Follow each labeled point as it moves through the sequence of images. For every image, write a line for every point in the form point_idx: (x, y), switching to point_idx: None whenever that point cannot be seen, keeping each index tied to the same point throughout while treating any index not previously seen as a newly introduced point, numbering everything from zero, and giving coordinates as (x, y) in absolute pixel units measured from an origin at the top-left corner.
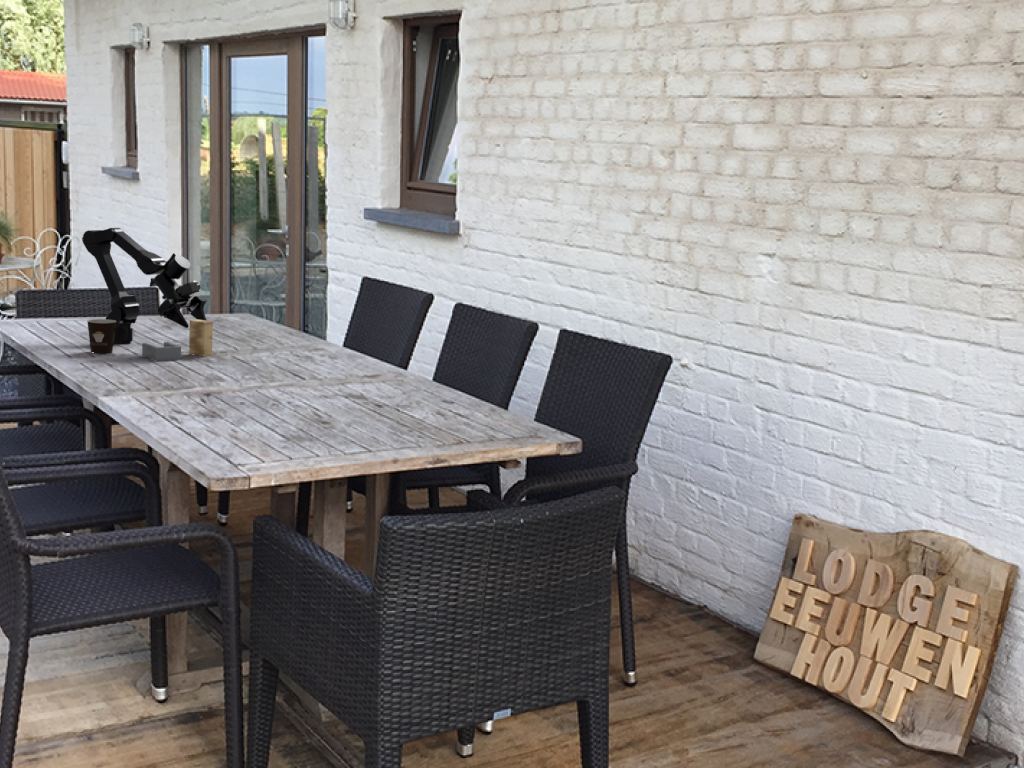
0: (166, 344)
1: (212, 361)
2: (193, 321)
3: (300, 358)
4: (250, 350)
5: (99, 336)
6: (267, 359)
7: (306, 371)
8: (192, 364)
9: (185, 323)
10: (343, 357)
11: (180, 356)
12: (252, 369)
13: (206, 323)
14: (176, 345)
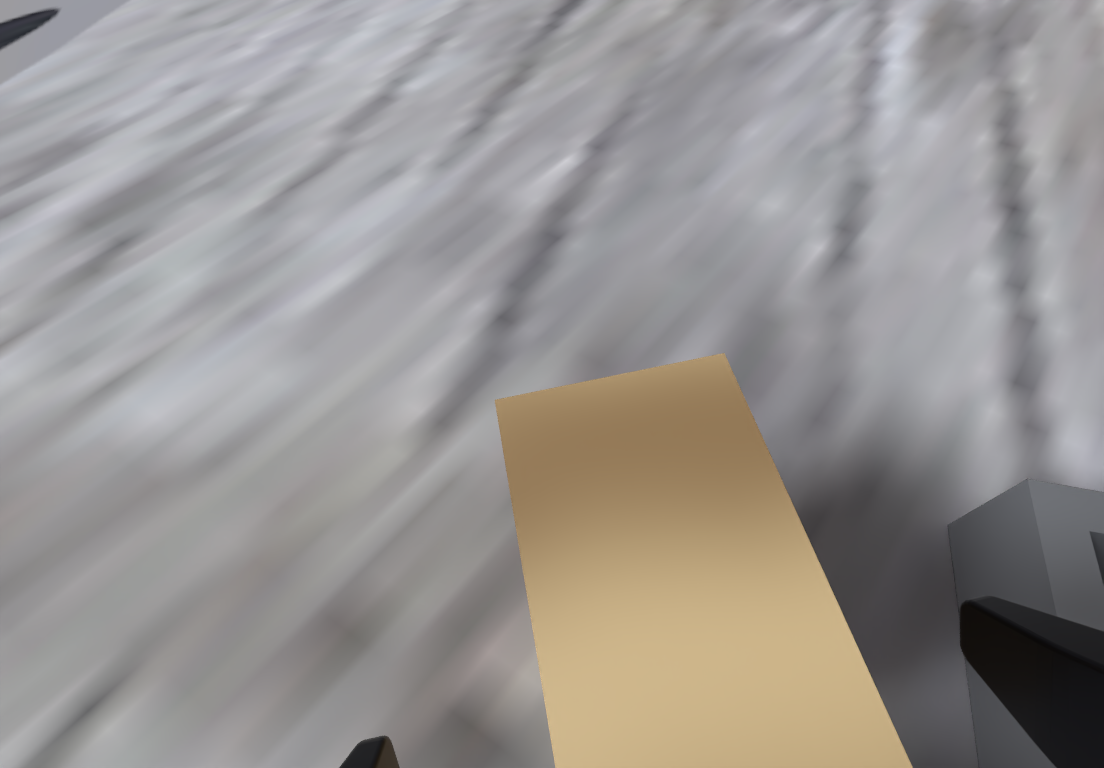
0: None
1: (726, 342)
2: (844, 637)
3: (183, 202)
4: (66, 583)
5: None
6: (354, 249)
7: (478, 21)
8: (933, 319)
9: (1082, 633)
10: (9, 145)
11: (969, 516)
12: (659, 105)
13: (673, 375)
14: (1061, 582)
